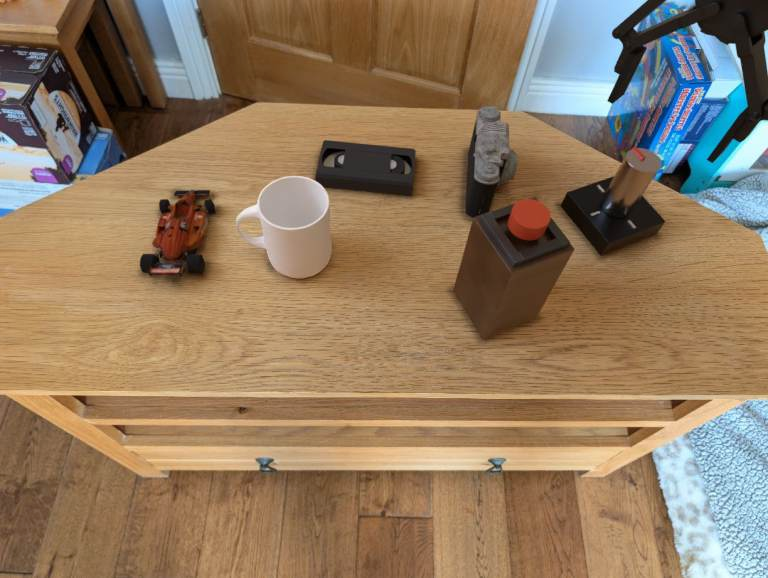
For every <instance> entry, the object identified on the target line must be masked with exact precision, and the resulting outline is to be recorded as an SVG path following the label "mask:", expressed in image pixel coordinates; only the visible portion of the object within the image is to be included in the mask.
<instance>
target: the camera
mask: <svg viewBox="0 0 768 578" xmlns="http://www.w3.org/2000/svg"><path fill="white" fill-rule="evenodd" d="M501 114H502V113H501V111H500V110H499V109H498V107H496V106H494V105H485V106H482V107H480V108H478V109H477V112H476V118H475V122H474V127H473V130H472V135H471V139H470V143H469V148H468V150H467V162H466V163H467V165H466V184H465V185H466V187H465V203H464V204H465V205H464V206H465V207H464V209H465V210H464V214H465V215H466V216H467V217H468V218H471V219H473V218H474V217H477V216H480V215H482V214H485V213H488V212H491V211H490V210H491V208H492V205H493V201H494V199H495V198H494V197H495V195H496V193H497V188H499V186H500V185H505V184H506V183H509V182H510V181H513V180H514V179H515V176H516V173H517V168H518V161H519V155H518V152H516V151H515V150H514V149H512V148H511V146H510V124H509V123H507V122H502V117H501V116H502V115H501Z"/></svg>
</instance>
